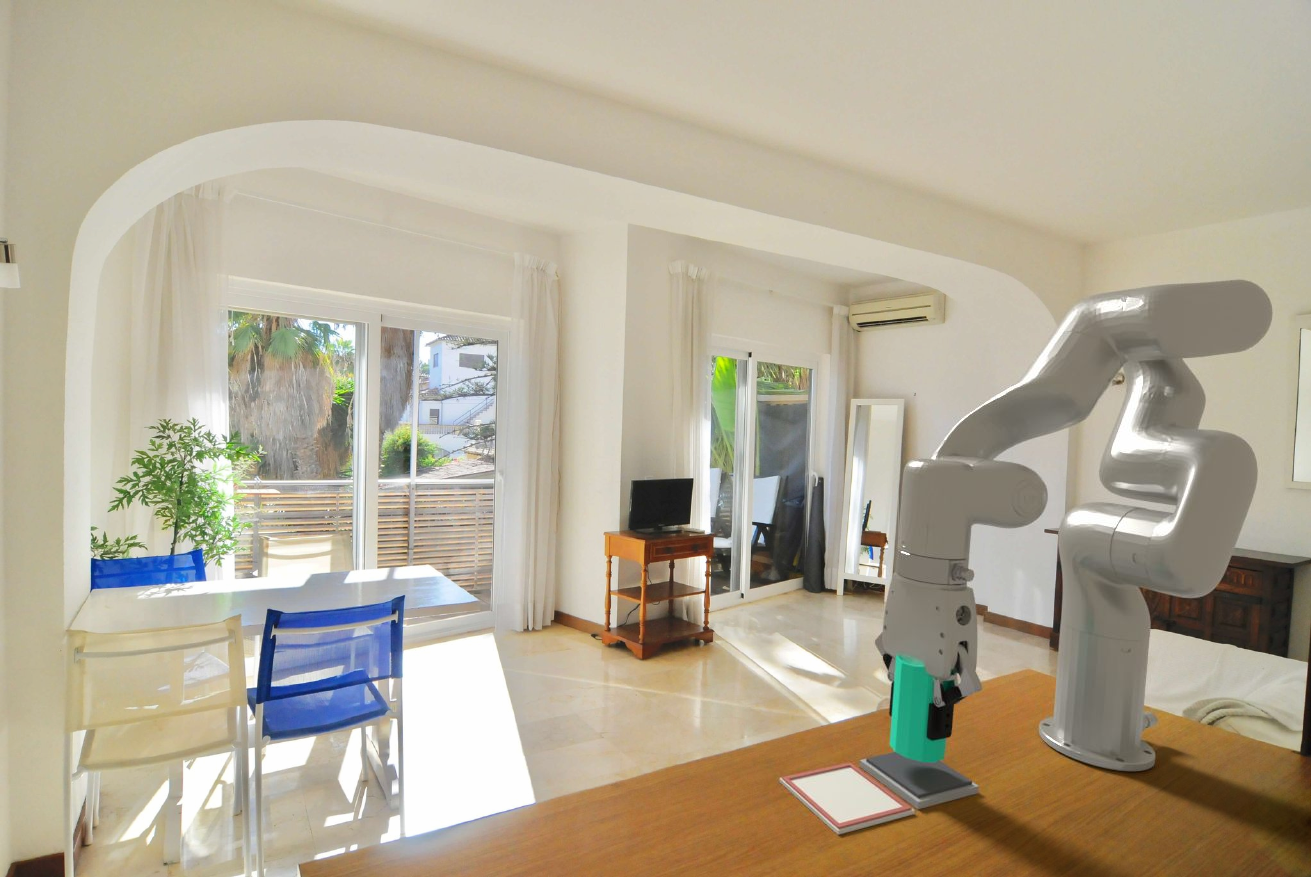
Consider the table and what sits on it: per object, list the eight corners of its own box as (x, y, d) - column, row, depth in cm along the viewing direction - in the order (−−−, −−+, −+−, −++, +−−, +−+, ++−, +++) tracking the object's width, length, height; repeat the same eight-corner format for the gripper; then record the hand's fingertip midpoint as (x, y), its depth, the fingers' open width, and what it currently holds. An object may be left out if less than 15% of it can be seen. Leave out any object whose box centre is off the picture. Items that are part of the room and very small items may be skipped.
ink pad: (916, 753, 84) (917, 744, 84) (978, 793, 75) (979, 782, 75) (859, 766, 80) (860, 756, 80) (917, 809, 72) (918, 798, 72)
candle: (951, 766, 74) (959, 658, 73) (893, 757, 75) (901, 651, 74) (939, 740, 80) (947, 640, 79) (886, 732, 81) (893, 633, 80)
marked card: (849, 765, 80) (850, 761, 80) (914, 813, 71) (914, 808, 71) (779, 781, 76) (779, 776, 76) (837, 834, 67) (838, 828, 67)
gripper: (1022, 586, 70) (1007, 757, 71) (900, 551, 86) (890, 692, 87) (970, 590, 67) (956, 769, 68) (854, 553, 83) (843, 699, 83)
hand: (919, 724), depth 77 cm, fingers closed on candle, 4 cm apart
